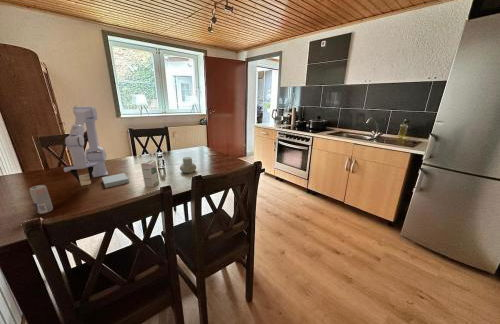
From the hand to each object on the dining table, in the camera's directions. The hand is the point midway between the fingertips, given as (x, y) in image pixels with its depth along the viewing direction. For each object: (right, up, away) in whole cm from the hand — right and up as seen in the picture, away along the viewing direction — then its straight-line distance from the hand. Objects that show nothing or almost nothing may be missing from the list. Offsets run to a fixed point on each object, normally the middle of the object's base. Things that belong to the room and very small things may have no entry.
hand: (85, 180), depth 115 cm
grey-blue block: (+11, -2, +10) cm, 15 cm away
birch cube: (0, -2, 0) cm, 2 cm away
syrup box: (+35, -3, +7) cm, 35 cm away
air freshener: (+50, +4, +28) cm, 57 cm away
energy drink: (-1, -12, -21) cm, 25 cm away
